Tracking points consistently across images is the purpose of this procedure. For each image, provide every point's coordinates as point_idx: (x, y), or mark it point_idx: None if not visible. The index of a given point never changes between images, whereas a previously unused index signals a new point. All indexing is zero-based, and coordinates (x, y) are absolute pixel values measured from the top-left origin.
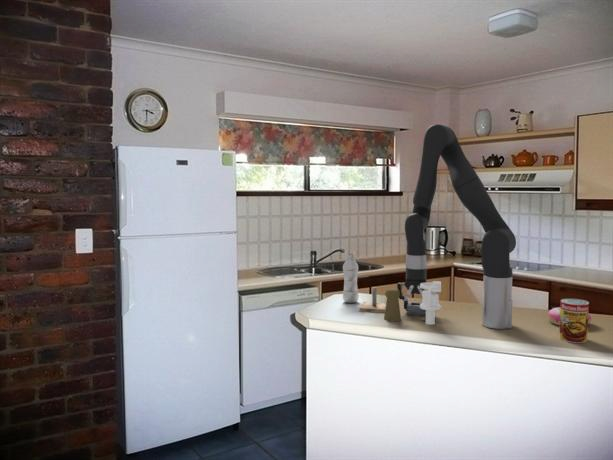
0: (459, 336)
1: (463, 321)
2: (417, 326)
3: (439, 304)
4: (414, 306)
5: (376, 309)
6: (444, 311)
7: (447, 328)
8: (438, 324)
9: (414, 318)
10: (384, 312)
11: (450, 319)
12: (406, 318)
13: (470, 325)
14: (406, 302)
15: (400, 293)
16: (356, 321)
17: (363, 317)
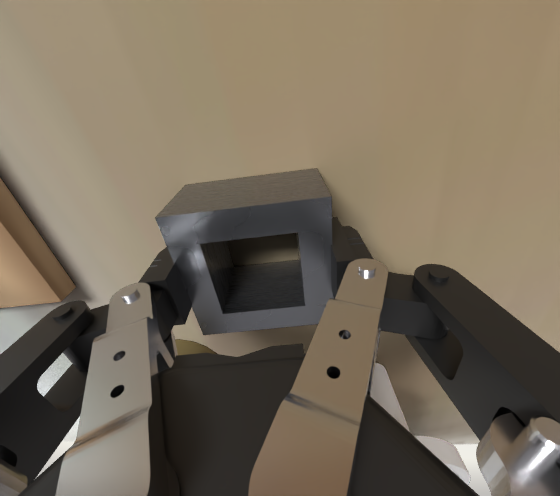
0: (457, 441)
1: (551, 304)
2: None
3: (465, 476)
4: (263, 325)
5: (4, 306)
6: (506, 74)
7: (433, 400)
8: (403, 373)
9: (281, 332)
10: (68, 288)
11: (485, 292)
12: (242, 343)
13: (556, 348)
14: (178, 318)
15: (71, 411)
16: (75, 423)
17: (51, 383)
